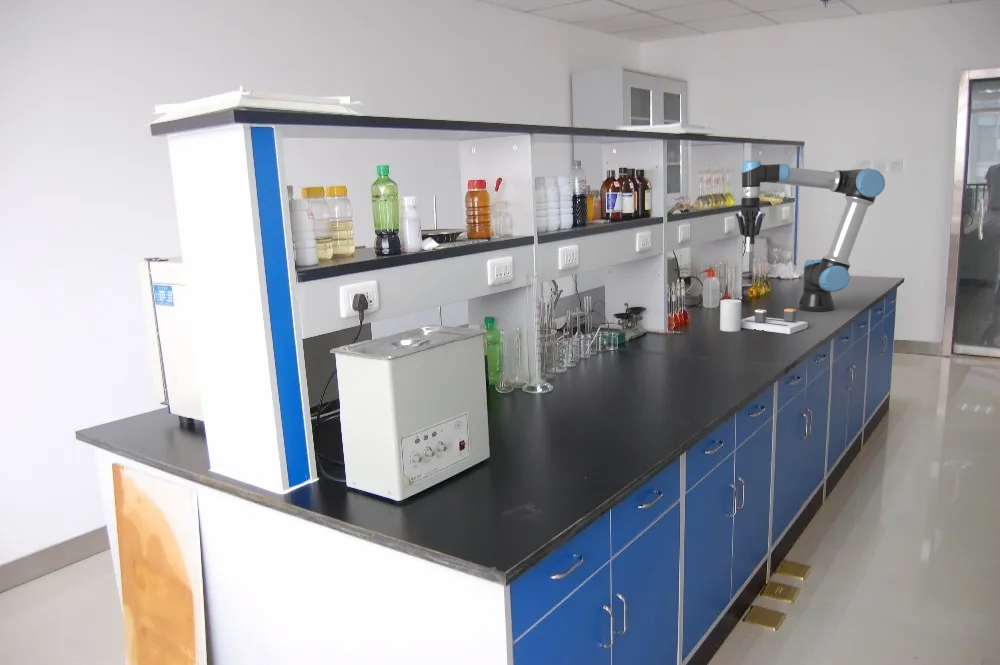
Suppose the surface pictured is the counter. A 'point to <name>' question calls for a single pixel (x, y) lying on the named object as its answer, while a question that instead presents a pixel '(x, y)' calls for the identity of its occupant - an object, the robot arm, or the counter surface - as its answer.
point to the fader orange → (790, 315)
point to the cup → (730, 315)
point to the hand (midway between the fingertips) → (749, 251)
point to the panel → (774, 325)
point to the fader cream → (760, 315)
